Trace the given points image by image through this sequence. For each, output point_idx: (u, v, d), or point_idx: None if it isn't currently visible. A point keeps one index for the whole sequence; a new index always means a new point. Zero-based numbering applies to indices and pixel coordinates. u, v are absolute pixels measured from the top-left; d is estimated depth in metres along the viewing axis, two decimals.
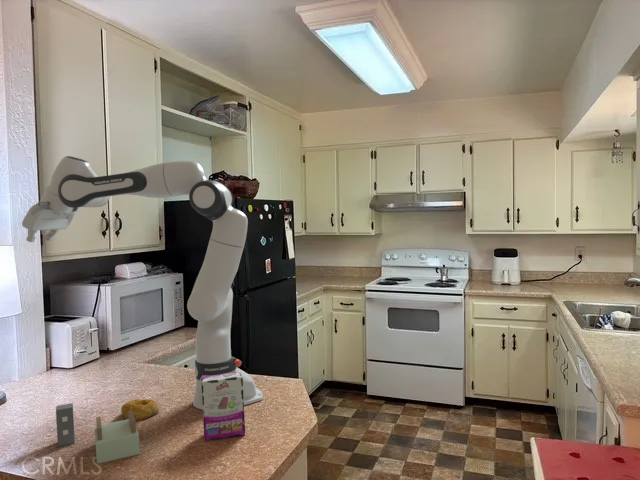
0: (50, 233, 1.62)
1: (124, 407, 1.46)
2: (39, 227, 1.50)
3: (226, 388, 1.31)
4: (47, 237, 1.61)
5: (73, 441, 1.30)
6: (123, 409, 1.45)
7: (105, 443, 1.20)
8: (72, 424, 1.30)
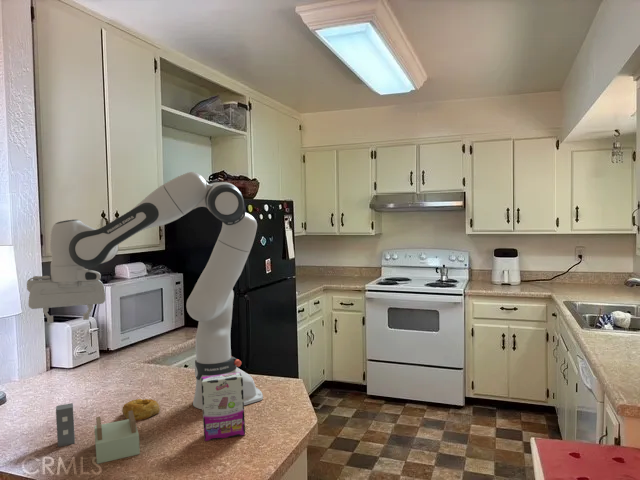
0: (87, 311, 1.46)
1: (125, 407, 1.46)
2: (43, 304, 1.38)
3: (226, 388, 1.31)
4: None
5: (73, 441, 1.30)
6: (124, 409, 1.45)
7: (105, 443, 1.20)
8: (72, 424, 1.30)
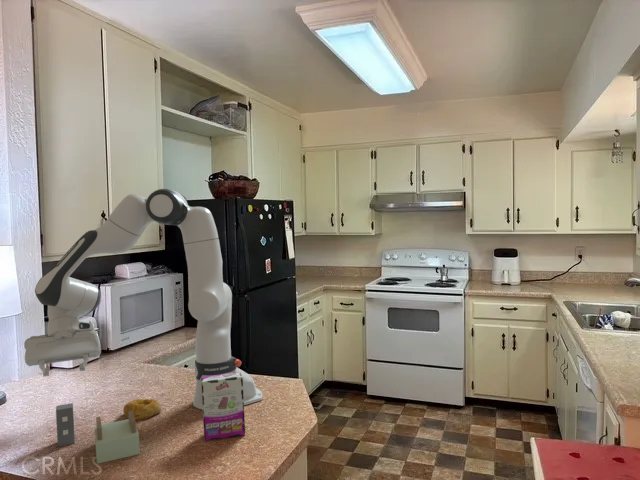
0: None
1: (126, 407, 1.46)
2: (38, 355, 1.41)
3: (226, 388, 1.31)
4: None
5: (73, 441, 1.30)
6: (125, 409, 1.46)
7: (105, 443, 1.20)
8: (72, 424, 1.30)
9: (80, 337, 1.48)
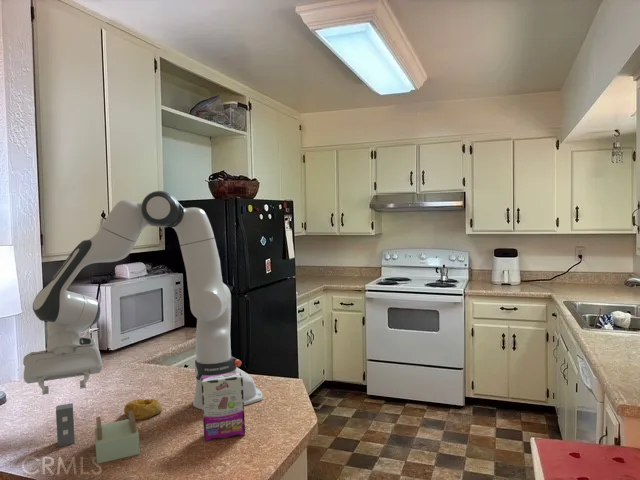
0: None
1: (127, 407, 1.46)
2: (38, 372, 1.37)
3: (226, 388, 1.31)
4: (80, 385, 1.40)
5: (73, 441, 1.30)
6: (126, 409, 1.46)
7: (105, 443, 1.20)
8: (72, 424, 1.30)
9: (81, 353, 1.44)
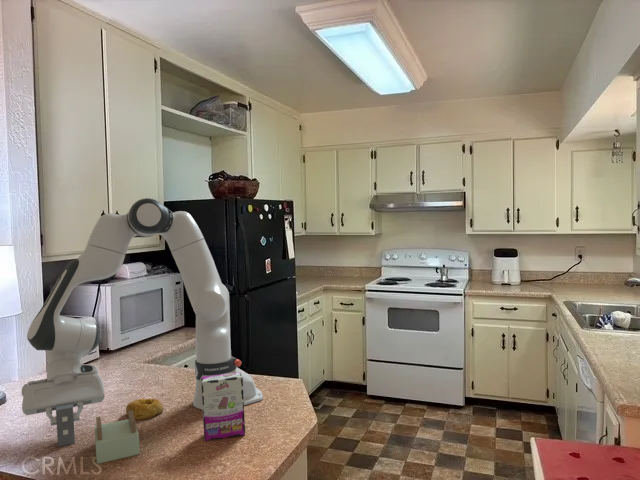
0: None
1: (129, 407, 1.46)
2: (37, 403, 1.30)
3: (226, 388, 1.31)
4: None
5: (73, 441, 1.30)
6: (128, 409, 1.46)
7: (105, 443, 1.20)
8: (72, 424, 1.30)
9: (82, 381, 1.37)
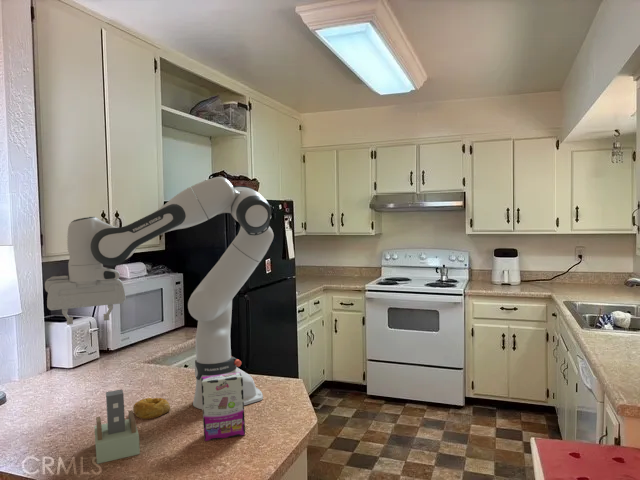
0: (107, 312, 1.40)
1: (136, 406, 1.46)
2: (61, 304, 1.33)
3: (226, 388, 1.31)
4: None
5: (124, 429, 1.26)
6: (135, 408, 1.46)
7: (105, 443, 1.20)
8: (123, 411, 1.25)
9: (104, 285, 1.38)
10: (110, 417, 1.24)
